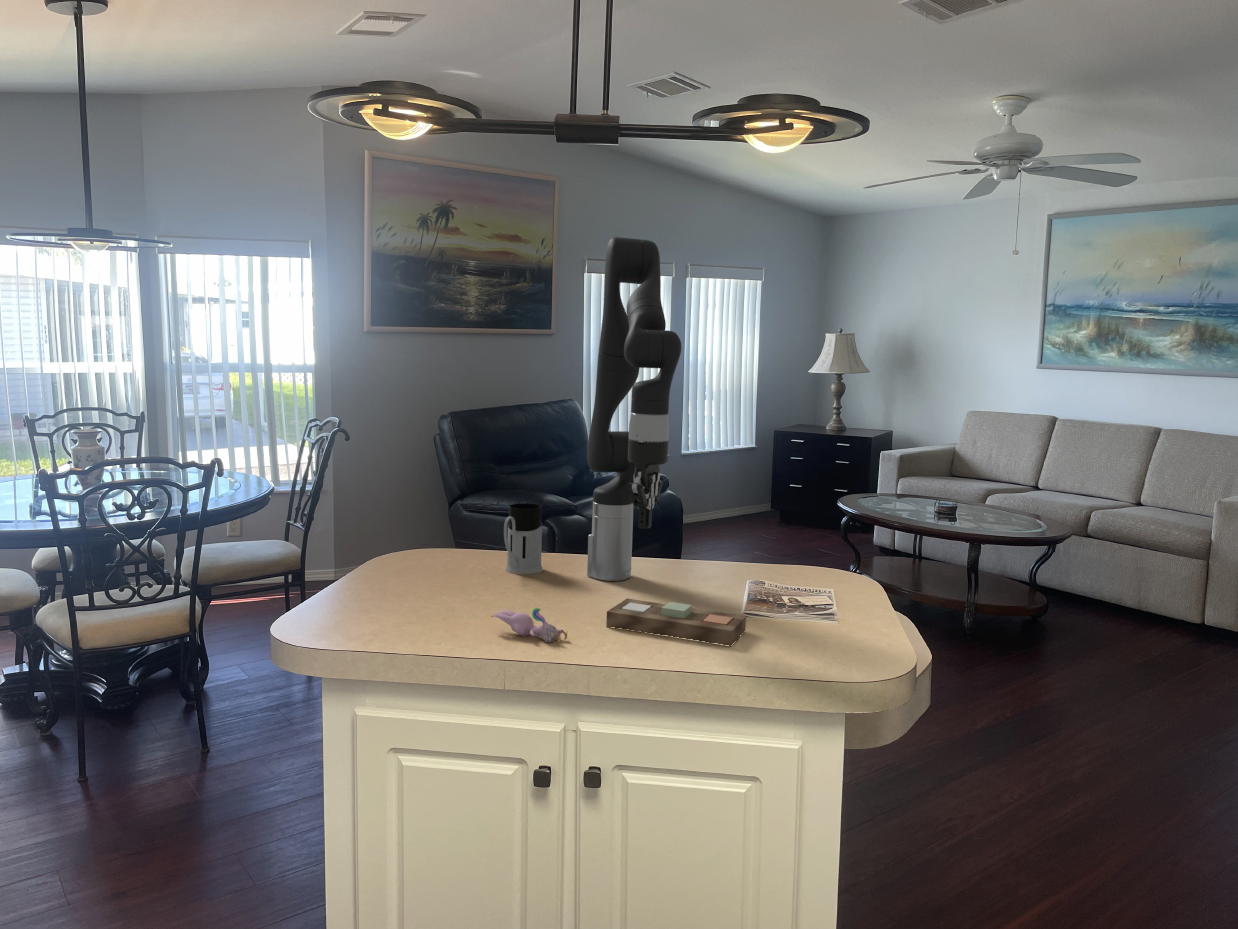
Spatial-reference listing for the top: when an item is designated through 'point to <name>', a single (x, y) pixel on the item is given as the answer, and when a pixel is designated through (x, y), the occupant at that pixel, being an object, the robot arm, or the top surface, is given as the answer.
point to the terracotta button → (718, 619)
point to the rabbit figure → (530, 625)
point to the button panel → (676, 623)
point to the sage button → (676, 610)
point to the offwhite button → (636, 607)
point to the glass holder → (523, 538)
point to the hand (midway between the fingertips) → (644, 527)
